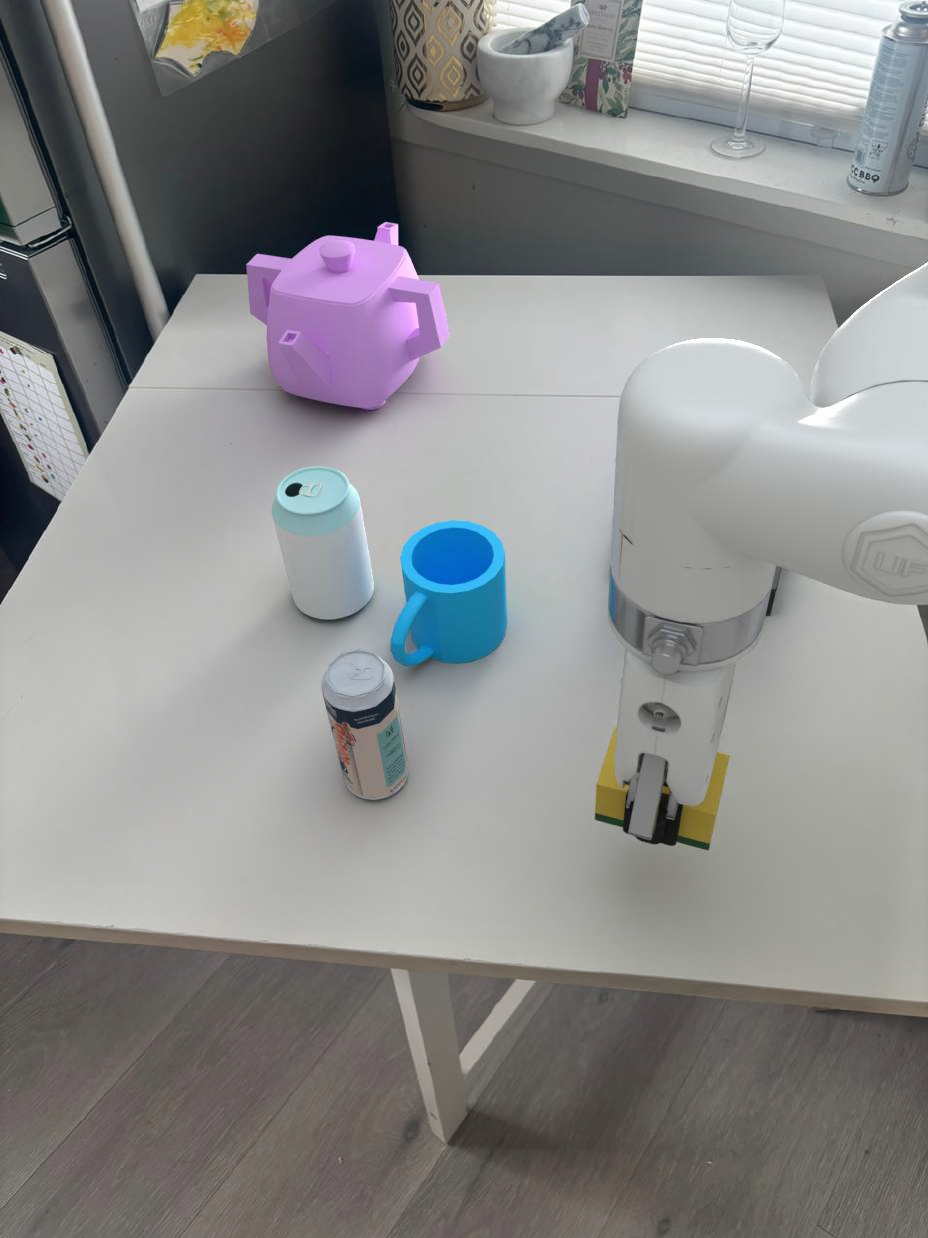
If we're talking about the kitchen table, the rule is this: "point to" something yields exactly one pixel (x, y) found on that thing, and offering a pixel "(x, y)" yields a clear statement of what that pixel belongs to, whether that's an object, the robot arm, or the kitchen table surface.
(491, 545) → the mug
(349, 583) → the can
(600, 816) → the sponge
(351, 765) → the beer can
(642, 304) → the kitchen table surface
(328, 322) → the teapot
